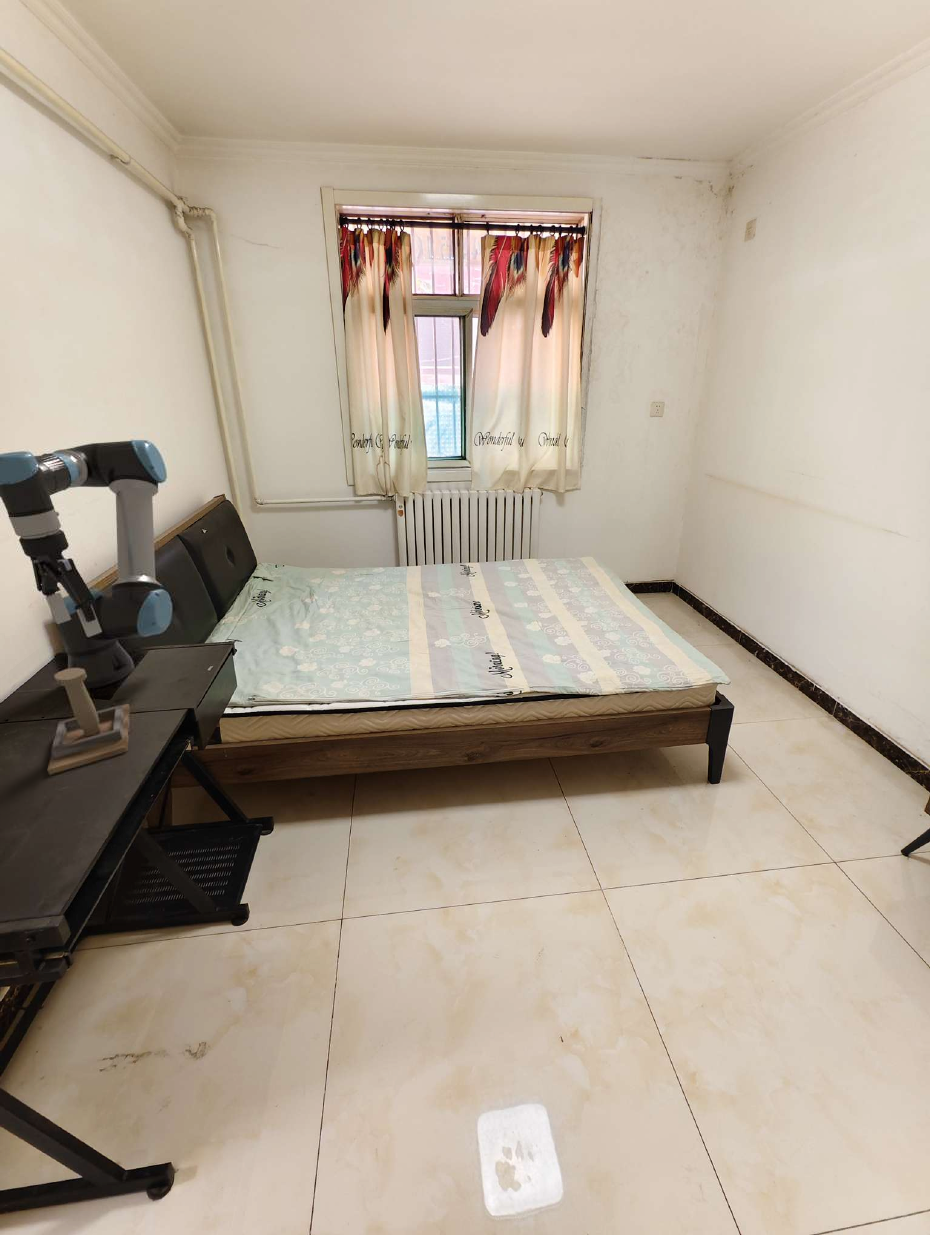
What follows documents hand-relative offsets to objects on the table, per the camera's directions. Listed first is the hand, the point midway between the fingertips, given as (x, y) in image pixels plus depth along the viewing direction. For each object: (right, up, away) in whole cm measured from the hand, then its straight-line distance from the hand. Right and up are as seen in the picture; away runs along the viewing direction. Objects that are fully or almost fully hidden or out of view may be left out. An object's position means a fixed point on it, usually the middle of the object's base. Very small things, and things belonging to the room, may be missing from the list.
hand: (78, 627), depth 121 cm
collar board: (+1, -25, +3) cm, 25 cm away
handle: (+1, -24, +3) cm, 24 cm away
